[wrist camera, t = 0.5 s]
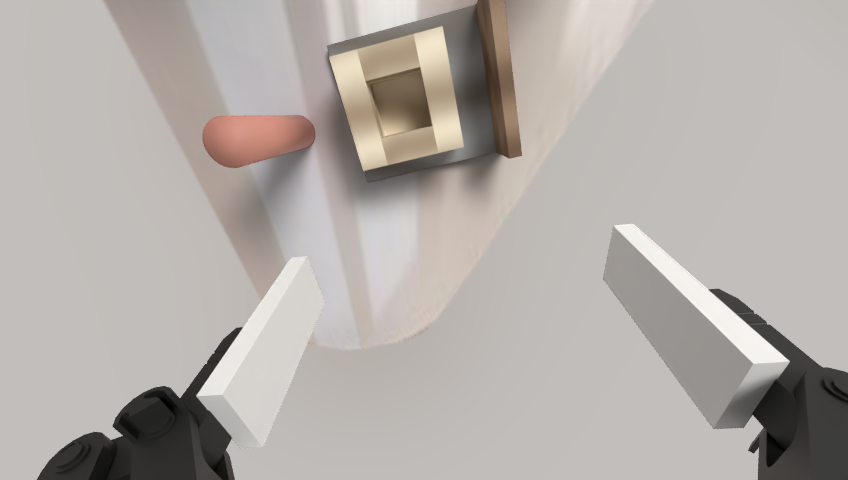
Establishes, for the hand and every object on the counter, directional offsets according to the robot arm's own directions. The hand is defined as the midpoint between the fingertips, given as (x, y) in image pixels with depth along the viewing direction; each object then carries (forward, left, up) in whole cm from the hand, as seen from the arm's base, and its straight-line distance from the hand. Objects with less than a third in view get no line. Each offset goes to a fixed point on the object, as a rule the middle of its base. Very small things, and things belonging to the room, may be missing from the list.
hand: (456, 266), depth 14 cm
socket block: (-8, -2, -24) cm, 25 cm away
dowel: (-8, -14, -25) cm, 29 cm away
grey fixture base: (-8, 0, -25) cm, 26 cm away
